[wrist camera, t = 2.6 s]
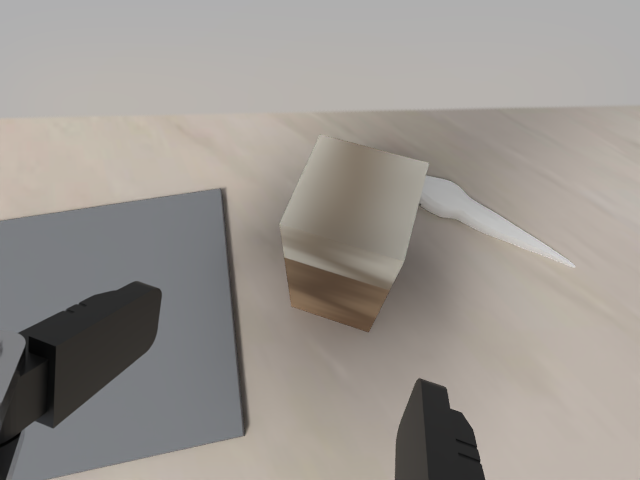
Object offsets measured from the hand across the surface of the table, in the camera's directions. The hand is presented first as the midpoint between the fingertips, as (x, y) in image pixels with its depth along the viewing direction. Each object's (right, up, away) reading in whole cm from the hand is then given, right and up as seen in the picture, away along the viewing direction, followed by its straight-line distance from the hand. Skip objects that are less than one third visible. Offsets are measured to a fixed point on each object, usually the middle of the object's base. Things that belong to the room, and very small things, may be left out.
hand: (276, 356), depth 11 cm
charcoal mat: (-13, -2, +12) cm, 18 cm away
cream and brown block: (+3, +1, +13) cm, 13 cm away
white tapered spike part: (+12, +5, +16) cm, 21 cm away
